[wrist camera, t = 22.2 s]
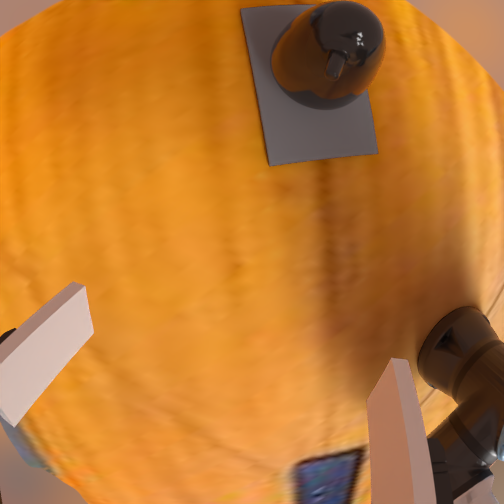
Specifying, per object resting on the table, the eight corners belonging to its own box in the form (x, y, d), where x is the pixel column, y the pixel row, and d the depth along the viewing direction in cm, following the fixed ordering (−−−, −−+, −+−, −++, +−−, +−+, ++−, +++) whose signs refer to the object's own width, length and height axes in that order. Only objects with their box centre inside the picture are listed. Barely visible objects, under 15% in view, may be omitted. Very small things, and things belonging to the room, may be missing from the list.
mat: (342, 8, 28) (344, 5, 27) (374, 153, 34) (378, 153, 33) (240, 12, 28) (240, 8, 27) (269, 166, 34) (270, 166, 33)
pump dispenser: (250, 93, 30) (261, 38, 16) (287, 23, 28) (318, -51, 13) (333, 133, 32) (400, 113, 17) (364, 63, 30) (433, 16, 15)
